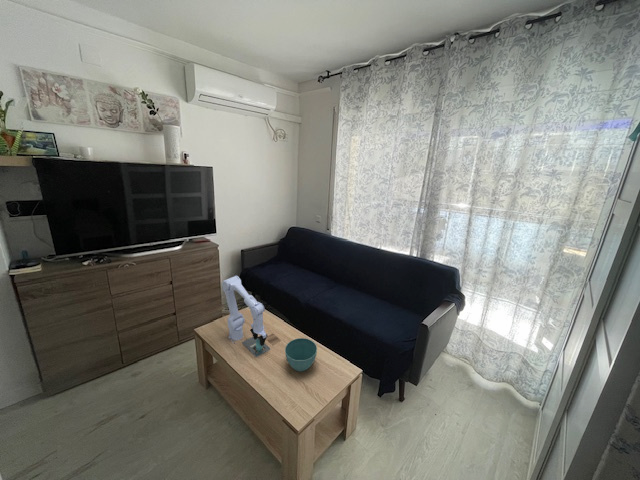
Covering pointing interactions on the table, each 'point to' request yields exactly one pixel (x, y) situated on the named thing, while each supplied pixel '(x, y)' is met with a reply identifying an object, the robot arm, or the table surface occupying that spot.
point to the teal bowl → (301, 353)
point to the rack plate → (254, 346)
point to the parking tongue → (273, 339)
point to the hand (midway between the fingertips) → (259, 341)
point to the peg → (258, 346)
